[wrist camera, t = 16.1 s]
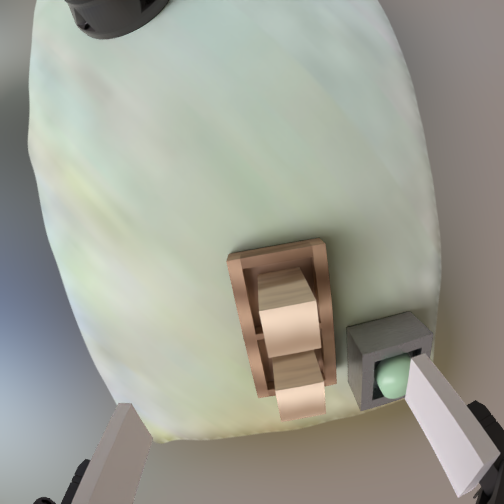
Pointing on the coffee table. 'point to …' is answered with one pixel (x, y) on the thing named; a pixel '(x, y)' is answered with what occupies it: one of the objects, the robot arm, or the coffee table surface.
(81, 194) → the coffee table surface
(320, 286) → the wooden divided tray
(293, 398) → the seated billet
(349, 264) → the coffee table surface
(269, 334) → the billet
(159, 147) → the coffee table surface
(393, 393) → the button
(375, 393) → the grey square bin
